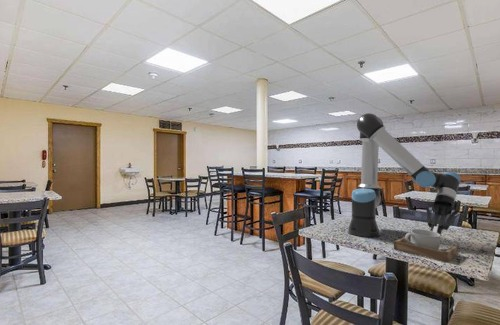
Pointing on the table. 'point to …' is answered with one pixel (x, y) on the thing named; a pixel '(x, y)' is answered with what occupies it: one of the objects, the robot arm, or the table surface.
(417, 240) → the teacup
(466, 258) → the table surface
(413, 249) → the wooden tray
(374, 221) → the robot arm
